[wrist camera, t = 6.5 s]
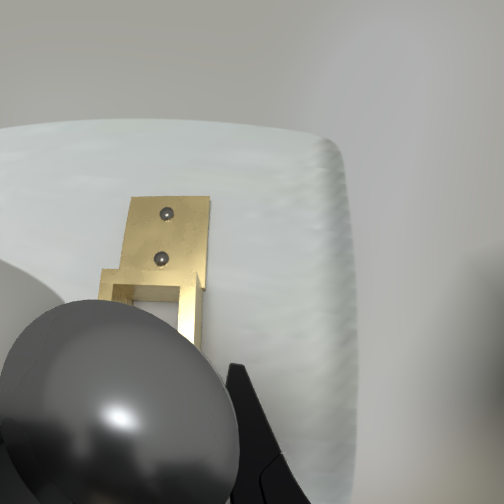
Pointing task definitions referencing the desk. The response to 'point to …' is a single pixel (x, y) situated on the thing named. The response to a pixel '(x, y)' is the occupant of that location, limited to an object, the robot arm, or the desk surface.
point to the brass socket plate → (164, 258)
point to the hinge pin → (116, 410)
